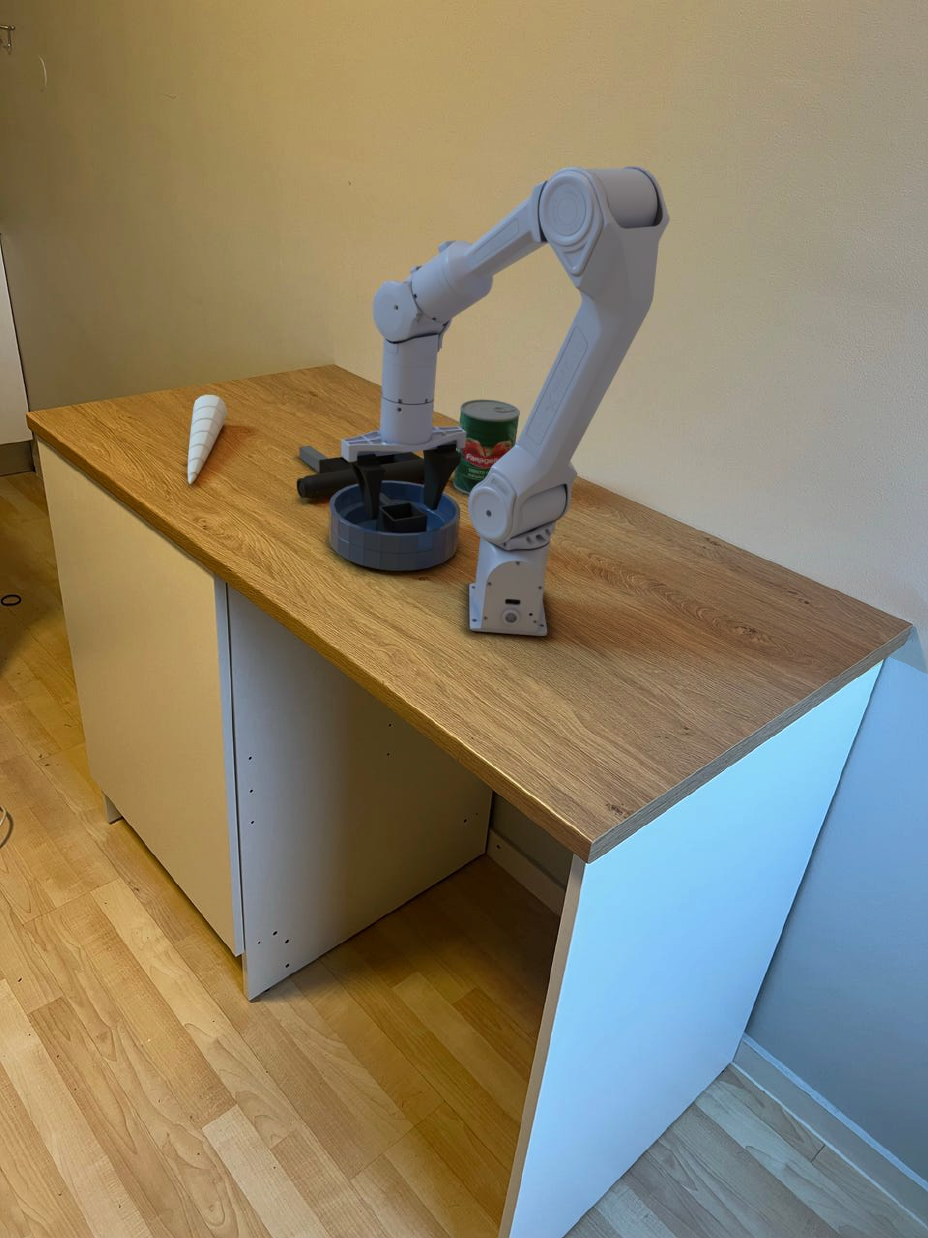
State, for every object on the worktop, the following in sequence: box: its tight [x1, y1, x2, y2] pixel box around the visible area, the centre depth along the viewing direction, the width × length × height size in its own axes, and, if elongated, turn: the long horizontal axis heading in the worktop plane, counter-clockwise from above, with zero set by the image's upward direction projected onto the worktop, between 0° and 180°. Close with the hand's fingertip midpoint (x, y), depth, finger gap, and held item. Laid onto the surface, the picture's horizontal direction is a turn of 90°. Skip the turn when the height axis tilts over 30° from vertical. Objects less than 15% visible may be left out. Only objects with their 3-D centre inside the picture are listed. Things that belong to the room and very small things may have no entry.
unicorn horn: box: [187, 394, 228, 485], centre depth 128 cm, size 5×24×5 cm, turn 3°
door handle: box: [296, 445, 425, 500], centre depth 127 cm, size 3×20×16 cm
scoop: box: [376, 493, 428, 534], centre depth 110 cm, size 8×4×5 cm, turn 30°
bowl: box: [327, 481, 461, 572], centre depth 110 cm, size 15×15×5 cm
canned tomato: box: [452, 399, 521, 496], centre depth 126 cm, size 8×8×11 cm
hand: (401, 511), depth 107 cm, fingers open, 7 cm apart
